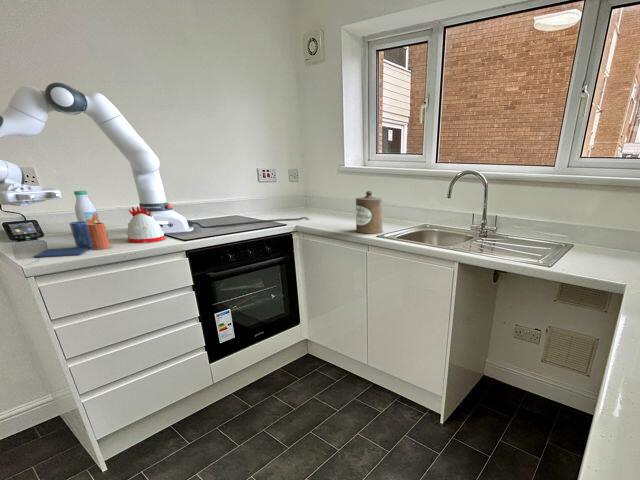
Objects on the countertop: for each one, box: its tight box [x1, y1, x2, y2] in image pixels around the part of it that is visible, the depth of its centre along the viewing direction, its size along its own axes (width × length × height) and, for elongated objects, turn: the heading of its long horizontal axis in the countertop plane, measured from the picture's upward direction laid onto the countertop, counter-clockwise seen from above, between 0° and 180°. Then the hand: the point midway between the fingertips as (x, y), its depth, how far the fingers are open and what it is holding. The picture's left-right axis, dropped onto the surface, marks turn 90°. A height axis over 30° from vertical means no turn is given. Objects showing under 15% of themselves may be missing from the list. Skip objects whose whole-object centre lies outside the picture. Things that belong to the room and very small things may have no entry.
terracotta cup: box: [86, 221, 111, 250], centre depth 142 cm, size 6×6×10 cm
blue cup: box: [68, 220, 93, 248], centre depth 144 cm, size 6×6×10 cm
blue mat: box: [34, 247, 91, 259], centre depth 135 cm, size 13×12×1 cm
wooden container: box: [355, 190, 383, 234], centre depth 195 cm, size 15×15×22 cm
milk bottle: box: [73, 190, 101, 223], centre depth 164 cm, size 8×8×20 cm
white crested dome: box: [126, 206, 166, 244], centre depth 158 cm, size 14×14×15 cm
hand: (45, 196), depth 140 cm, fingers open, 8 cm apart
